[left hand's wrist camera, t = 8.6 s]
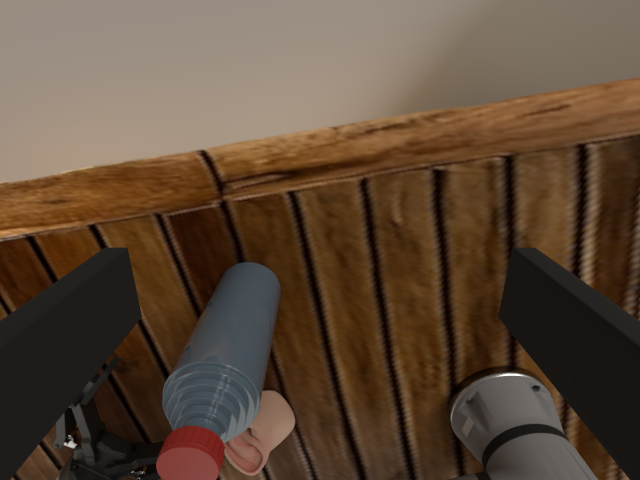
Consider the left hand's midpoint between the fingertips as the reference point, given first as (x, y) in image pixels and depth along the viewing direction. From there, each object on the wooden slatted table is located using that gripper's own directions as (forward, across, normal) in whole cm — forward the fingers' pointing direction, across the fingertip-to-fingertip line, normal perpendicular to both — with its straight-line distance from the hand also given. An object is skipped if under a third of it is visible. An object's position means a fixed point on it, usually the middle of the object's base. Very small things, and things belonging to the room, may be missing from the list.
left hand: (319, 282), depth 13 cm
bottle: (+32, +9, +18) cm, 38 cm away
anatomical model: (+32, +10, +42) cm, 54 cm away
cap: (+7, +9, +18) cm, 22 cm away
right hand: (+25, +21, +29) cm, 44 cm away
